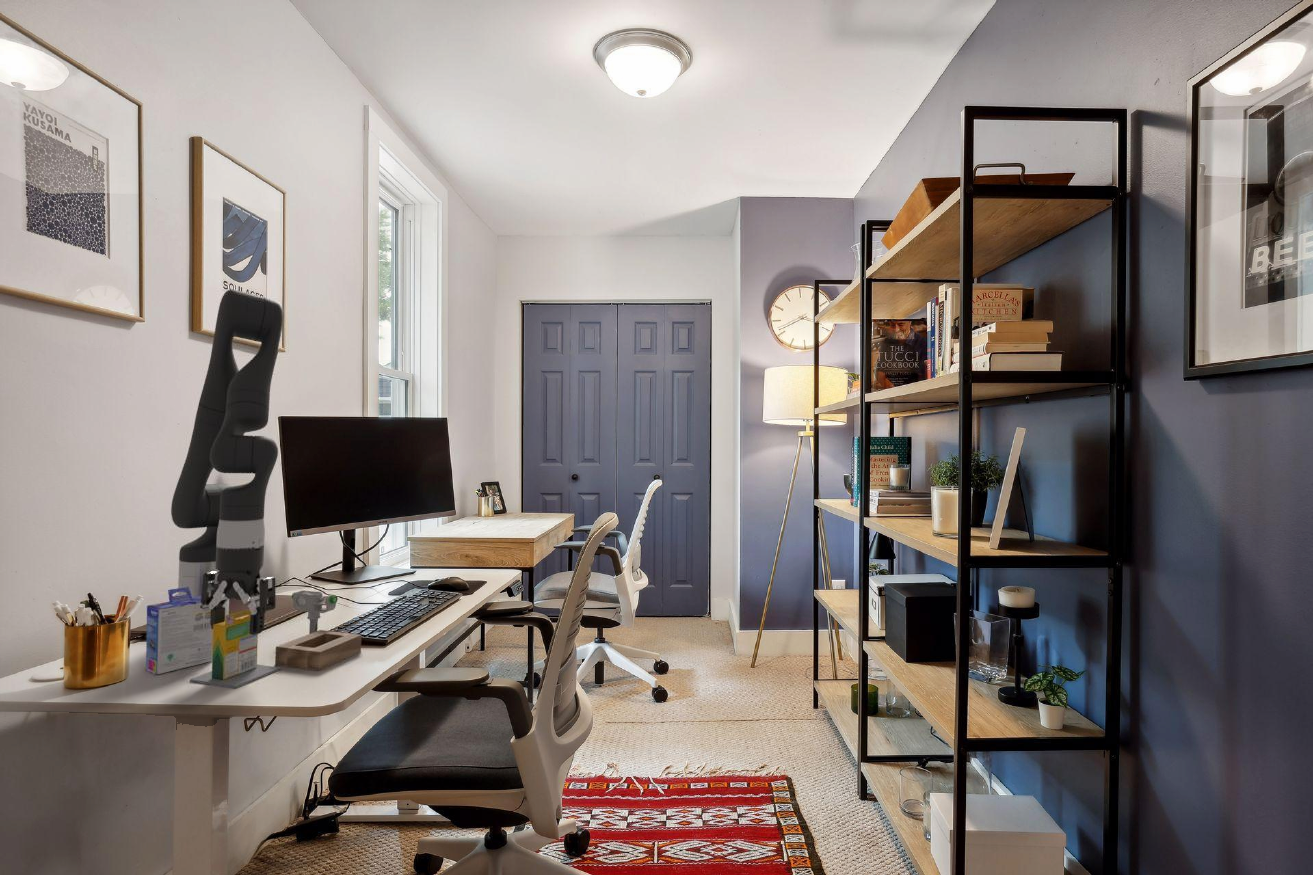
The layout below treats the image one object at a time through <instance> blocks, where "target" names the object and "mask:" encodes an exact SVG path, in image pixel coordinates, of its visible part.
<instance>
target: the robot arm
mask: <svg viewBox="0 0 1313 875" xmlns="http://www.w3.org/2000/svg"><path fill="white" fill-rule="evenodd" d="M283 324H284V308H283V306H282V304H281V303H280V302H278V301H277V300H274V299H271V298H267V297H263V296H259V295H256V294H252V293H248V292H245V291H240V290H236V289H229V290H226V291H225V292H224V294H223V295H222V297H221V300H220V302H219V306H218V310H217V317H216V323H215V329H214V334H213V340H212V347H211V351H210V352H211V353H210V358H209V364H208V367H207V368H208V369H207V372H206V376H205V379H204V384H203V386H202V390H201V394H200V397H199V401H198V405H197V410H196V414H195V419H194V425H193V429H192V434H191V439H190V442H189V447H188V450H187V453H186V458H185V461H184V464H183V466H182V469H181V472H180V475H179V477H178V481H177V483H176V487H175V489H174V493H173V496H172V500H171V508H170V515H171V520H172V522H173V524H174V525H175V526H176V527H178V528H180V529H186V530H187V529H198V528H199V529H200V528H201V529H202V528H206V529H205V530H204V533H203V534H202V535H201V536H199V537H197V538H196V539H195V540H192V541H191V542H188V543H186V544H184V545H182V546H181V547H180V549H179V553H178V557H179V558H178V561H179V562H178V580H177V582H178V583H177V584H178V585H177V589H178V588H185V587H189V590H190V593H191V596H192V597H198V596H201V604H202V605H205V604H206V605H208V606H209V608H210V609H211V616H210V617H211V618H210V624H211V628H212V629H213V625H214V624H218V623H221V622H225V616H226V615H230V614H229V610H230V609H229V608H230V599H235V600H238V601H242V603H243V605H245V606H247V607H248V609H250V611H251V613H252V614H251V615H250V634H251V635H256V634H258V635H259V634H261V633H262V632H263V631H264V628H265V617H266V616H265V614H266V612H267V611H272V610H275V608H276V606H277V605H276V602H277V601H276V600H277V598H276V578H275V576H269V577H262V576H261V572H260V571H261V569H262V568H263V566H264V556H265V533H266V530H265V528H266V527H265V504H266V494H267V489H268V484H269V481H270V478H271V475H272V473H273V470H274V467H275V465H276V462H277V460H278V457H279V449H278V445H277V443H276V441H275V440H274V439H273V438H272V437H270V436H265V435H245V434H246V433H251V432H255V431H260V430H262V429H264V428H266V426H268V422H269V418H270V417H269V416H270V414H269V413H270V396H271V385H272V381H273V380H272V379H273V375H274V370H275V366H276V362H277V357H278V352H279V348H280V347H279V346H280V342H281V337H282V330H283ZM234 338H238V339H244V340H247V341H251V342H252V341H253V342H258V343H261V344H260V346H259V349H258V351H257V353H256V354H255V355H254V356H253V358H252V359H250V361H249V362H247V363H245V365H244V366H243V367H241V368H240V369H239V367H238V364H237V362H236V358H235V355H234V351H233V339H234ZM213 470H215V471H217V472H219V473H222V474H254V477H253V479H252V480H250V481H249V482H247V483H245V484H241V485H240V484H239V485H234V486H232V485H230V484H227V483H208V481H209V477H210V475H211V473H212V472H213ZM182 595H187V593H186V592H177V593H176V594H175V595H173V597H176V596H182Z"/></svg>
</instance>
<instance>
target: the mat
mask: <svg viewBox="0 0 1313 875" xmlns="http://www.w3.org/2000/svg"><path fill="white" fill-rule="evenodd" d="M280 670H281V667H278V666H271V665H265V664H257V668H253V669H251V670H248V671H245V672H243V673H240V674H237V675H235V676H232V677H230V678H227V679H226V680H220V679H213V678H212V670H211V671H209V672H206V673H202V674H200V675H197V676H195V677H192V678H189V682H190V683H198V684H203V685H204V684H205V685H211V686H217V687H218V686H219V687H223V688H224V687H225V688H233V689H238V688H241V687H242V686H243V687H244V686H245V685H247V684H249V683H252V682H255V681H257V680H260V679H261V678H264V677H266V676H269V675H271V674H274V673H276V672H277V671H280Z"/></svg>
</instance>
